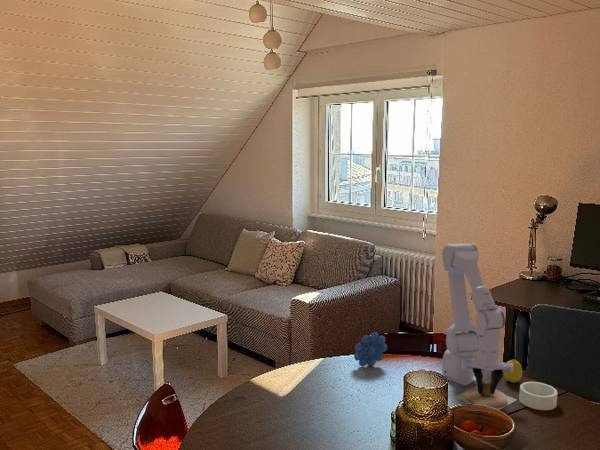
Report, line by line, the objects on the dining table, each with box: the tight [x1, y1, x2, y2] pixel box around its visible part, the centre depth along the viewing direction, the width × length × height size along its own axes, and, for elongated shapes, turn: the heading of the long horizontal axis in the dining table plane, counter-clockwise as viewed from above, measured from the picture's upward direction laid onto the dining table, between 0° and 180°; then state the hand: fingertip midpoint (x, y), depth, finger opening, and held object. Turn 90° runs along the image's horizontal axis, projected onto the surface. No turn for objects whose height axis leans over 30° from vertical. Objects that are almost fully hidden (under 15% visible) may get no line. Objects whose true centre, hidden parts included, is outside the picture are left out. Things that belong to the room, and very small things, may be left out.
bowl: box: [518, 381, 558, 411], centre depth 167 cm, size 10×10×4 cm
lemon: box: [503, 359, 523, 384], centre depth 181 cm, size 6×6×8 cm
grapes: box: [353, 331, 388, 367], centre depth 194 cm, size 12×7×12 cm, turn 101°
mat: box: [454, 391, 518, 411], centre depth 170 cm, size 13×13×1 cm
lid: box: [464, 379, 507, 407], centre depth 169 cm, size 12×12×5 cm
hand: (485, 392), depth 169 cm, fingers closed on lid, 3 cm apart
